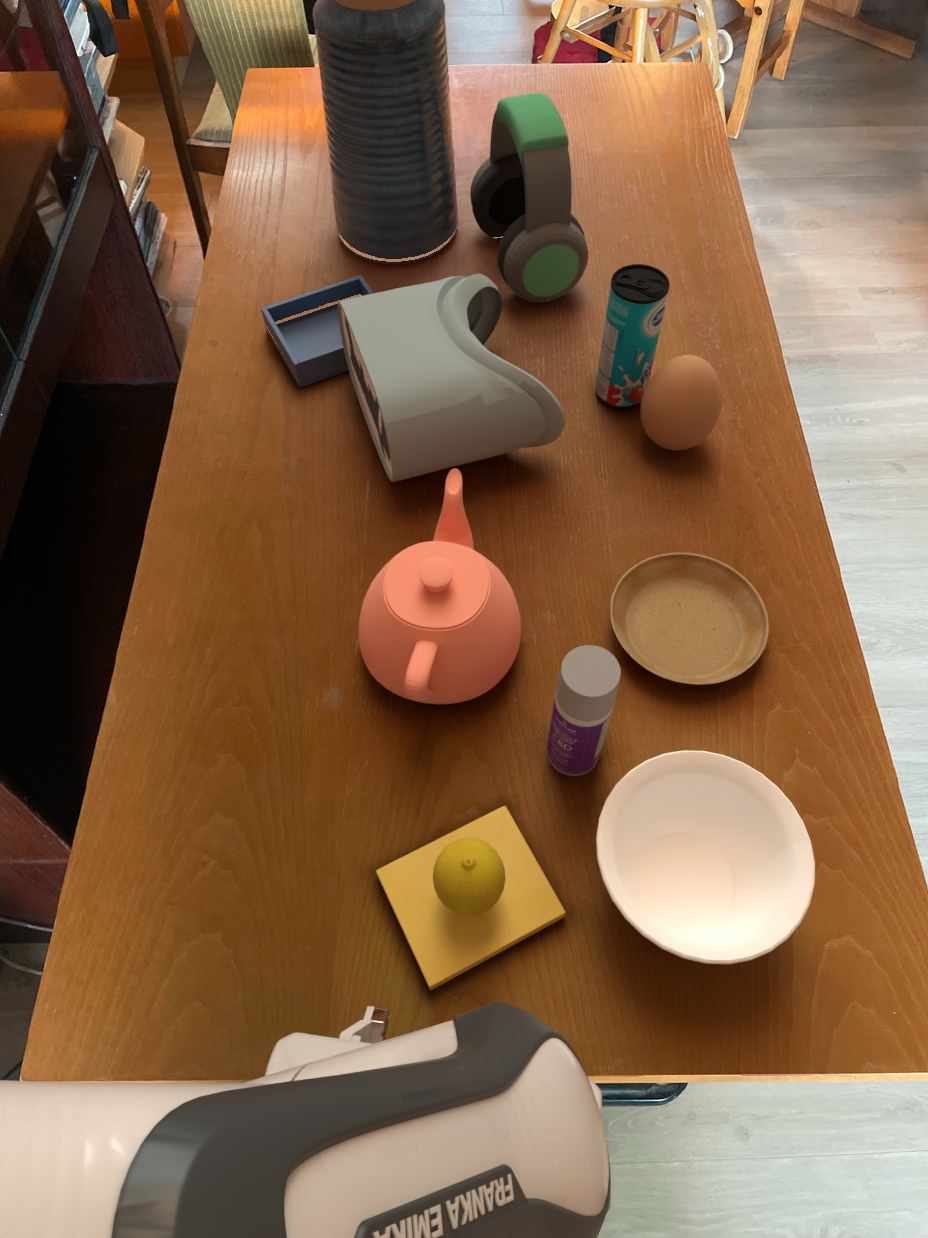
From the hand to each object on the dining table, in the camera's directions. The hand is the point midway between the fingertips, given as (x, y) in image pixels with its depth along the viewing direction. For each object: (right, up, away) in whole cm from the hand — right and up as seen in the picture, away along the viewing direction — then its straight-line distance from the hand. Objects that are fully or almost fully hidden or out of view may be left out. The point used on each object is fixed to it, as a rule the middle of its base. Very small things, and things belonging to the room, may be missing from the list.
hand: (446, 1025), depth 59 cm
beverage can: (+19, +54, +43) cm, 71 cm away
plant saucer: (+22, +26, +25) cm, 43 cm away
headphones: (+9, +74, +55) cm, 93 cm away
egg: (+24, +47, +38) cm, 66 cm away
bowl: (+19, +6, +13) cm, 24 cm away
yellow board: (+2, +5, +12) cm, 13 cm away
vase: (-8, +80, +60) cm, 100 cm away
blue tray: (-15, +62, +48) cm, 79 cm away
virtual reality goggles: (0, +51, +41) cm, 65 cm away
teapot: (-1, +26, +25) cm, 36 cm away
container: (+11, +16, +19) cm, 27 cm away
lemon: (+2, +6, +11) cm, 12 cm away
